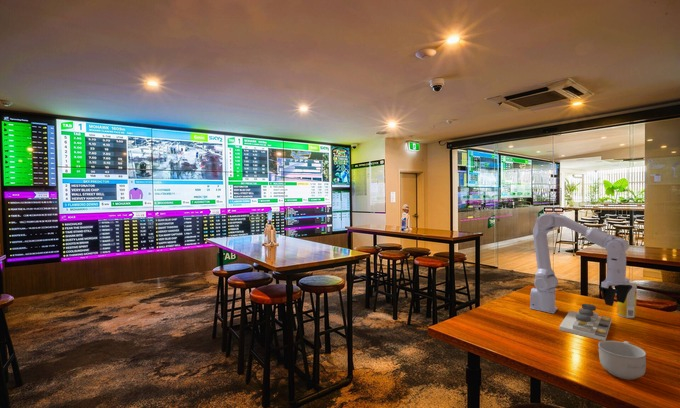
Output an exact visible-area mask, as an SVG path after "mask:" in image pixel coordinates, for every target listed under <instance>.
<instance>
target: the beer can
mask: <svg viewBox="0 0 680 408" xmlns="http://www.w3.org/2000/svg"><path fill="white" fill-rule="evenodd" d="M629 285H632V288H631V290H630V291H629V292H628V294H627V297H626V300H625V302H624V303H621V302H616V314H617V315H618V316H619V317H621V318H625V319H634V318H635V317H636V316H637V293H638V292H637V289H638V287H637V286H638V285H637V283H636V282H635V281H633V280H630V281H629Z"/></svg>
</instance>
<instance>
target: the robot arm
mask: <svg viewBox="0 0 680 408" xmlns="http://www.w3.org/2000/svg"><path fill="white" fill-rule="evenodd" d="M535 220H536V221H535V224H534V226H533V229H532V237H533V244H534V251H535V259H536V266H537V270H536V271H535V273H534V276H535V277H534V281H533V285H534V286H535V287H532V288H531V290H530V295H529V296H530V297H529V298H530V299H529V300H530V301H529V303H530V304H529V306H530V307H529V309H532V310H536V311H539V312H545V313H549V314H555V313H556V312H557V311H558V307H556V287H557V286H559V285H558V284H559V280H558V278H557V276H556V273H555V271H554V270H553V269H552V263H551V255H550V250H549V249H550V248H549V242H548V233H550V231H552V229H555V228H558V227H559V228H561V227H564V228H566V229H569V230H571V231H573V232H576V233H578V234H581V235H583V236H584V237H585V239H586V240H587V241H589V242H590V243H592V244H595V245H597V246H599V247H601V248H603V249H605V251H606V252H607V253H606V254H607V256H606V277H605V279H604V280H603V281H601V284H600V285H598V289H599V291H600V292H601V295H602V297H603V299H604V304H605V306H611V307H613V306H614V302H615V298H616V301H617V302H621V303H624V302H625V300H626V297H627V294H628V292H629V291H630V290H631V288H632V285H629V281H631V280H630V278H628V277H626V274H627V251H628V250H629V248H630V245H629V242H628V241H627V240H626V239H624V238H623V237H616V235H614V234H612V235H611V234H610V233H607V232H606V231H603V229H602V228H600V227H598V228H596V227H592V228H589V227H587V226H586V225H583V224H581V223H579V222H577V221H575V220H574V219H571V218H570V217H567V216H565V215H564V214H560V213H558V212H551V213H549V212H548V213H542V214H540V215H539V216H538V217H536V219H535ZM617 302H616V303H617Z"/></svg>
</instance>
